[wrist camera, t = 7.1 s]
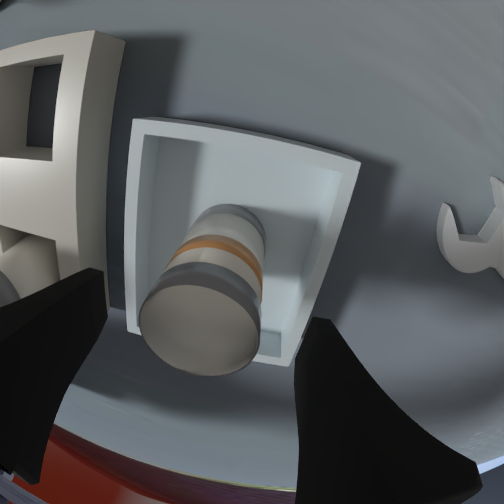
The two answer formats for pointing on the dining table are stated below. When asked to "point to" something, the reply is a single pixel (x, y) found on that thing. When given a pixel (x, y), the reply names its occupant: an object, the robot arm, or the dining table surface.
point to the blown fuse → (209, 296)
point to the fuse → (27, 268)
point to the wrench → (474, 238)
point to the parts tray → (243, 194)
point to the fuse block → (60, 148)
